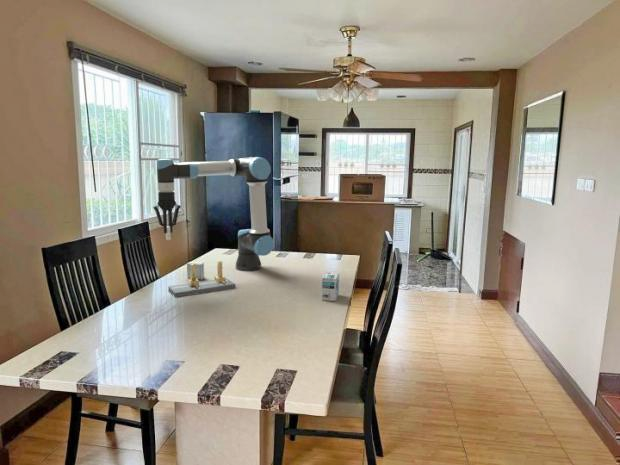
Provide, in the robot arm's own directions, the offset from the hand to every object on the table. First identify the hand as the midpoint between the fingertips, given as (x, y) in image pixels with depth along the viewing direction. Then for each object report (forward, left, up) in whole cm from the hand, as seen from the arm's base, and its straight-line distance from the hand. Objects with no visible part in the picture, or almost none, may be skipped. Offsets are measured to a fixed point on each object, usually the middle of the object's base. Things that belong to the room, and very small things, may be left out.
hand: (168, 239), depth 216 cm
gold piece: (-9, +10, -22) cm, 26 cm away
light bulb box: (-61, +52, -25) cm, 84 cm away
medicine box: (-16, -10, -25) cm, 31 cm away
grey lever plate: (-13, +10, -24) cm, 29 cm away
